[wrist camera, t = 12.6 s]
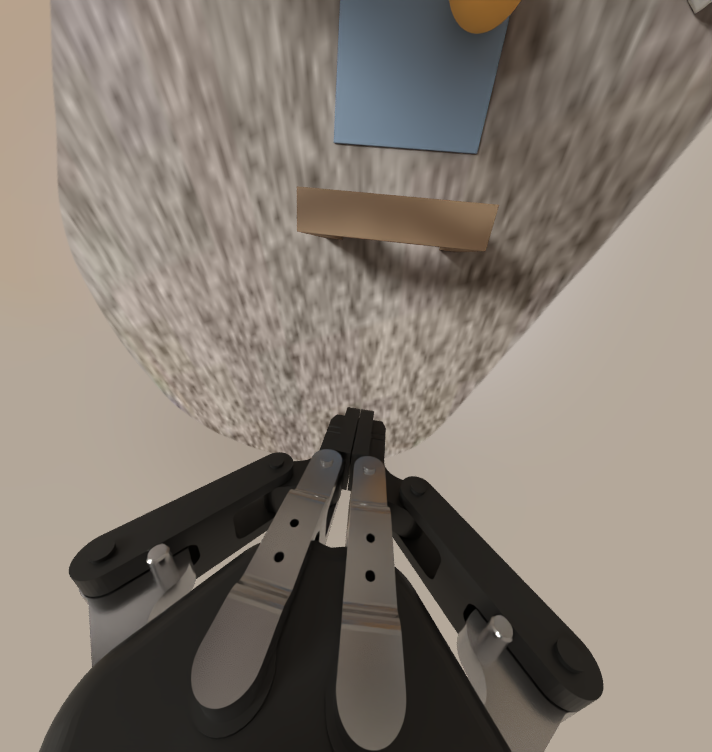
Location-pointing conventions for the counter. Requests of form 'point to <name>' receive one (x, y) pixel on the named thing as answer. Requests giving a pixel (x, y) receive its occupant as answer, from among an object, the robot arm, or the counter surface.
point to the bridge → (395, 219)
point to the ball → (481, 13)
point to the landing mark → (412, 76)
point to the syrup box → (698, 4)
